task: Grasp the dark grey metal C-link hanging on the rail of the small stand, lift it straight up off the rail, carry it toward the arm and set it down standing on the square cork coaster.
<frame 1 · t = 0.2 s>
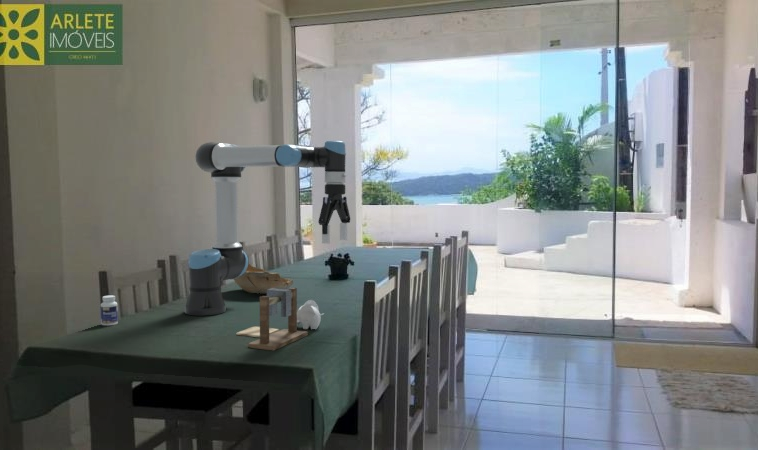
hand: (334, 241, 222), 28 cm above the table, fingers open, 13 cm apart
cork coaster: (258, 332, 200), on the table
stand: (279, 340, 189), on the table
brown wooden chunk: (260, 292, 274), on the table
pill bottle: (109, 324, 211), on the table
c link: (279, 315, 189), point 8 cm above the table, touching stand
elephant figurine: (306, 328, 207), on the table
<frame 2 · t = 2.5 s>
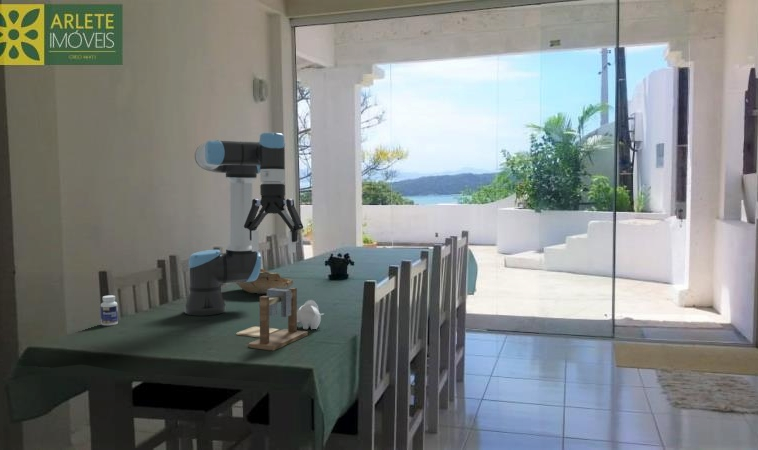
hand: (273, 252, 188), 28 cm above the table, fingers open, 13 cm apart
nothing on the table moved.
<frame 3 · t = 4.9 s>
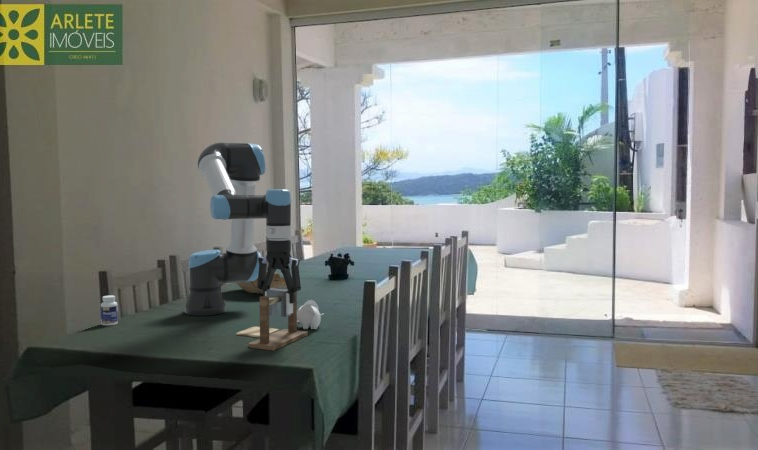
hand: (279, 312, 189), 9 cm above the table, fingers closed on c link, 7 cm apart
c link: (279, 315, 189), point 8 cm above the table, touching gripper, stand
everything else where it was.
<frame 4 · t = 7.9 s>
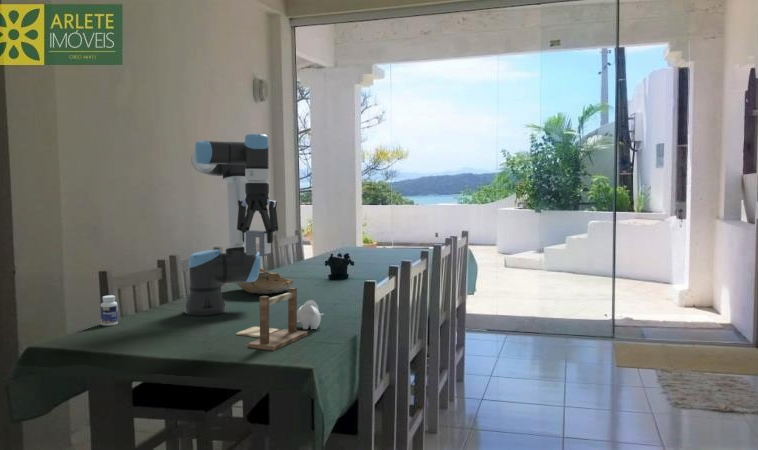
hand: (257, 252, 198), 27 cm above the table, fingers closed on c link, 7 cm apart
c link: (257, 255, 198), point 26 cm above the table, touching gripper
everything else where it was.
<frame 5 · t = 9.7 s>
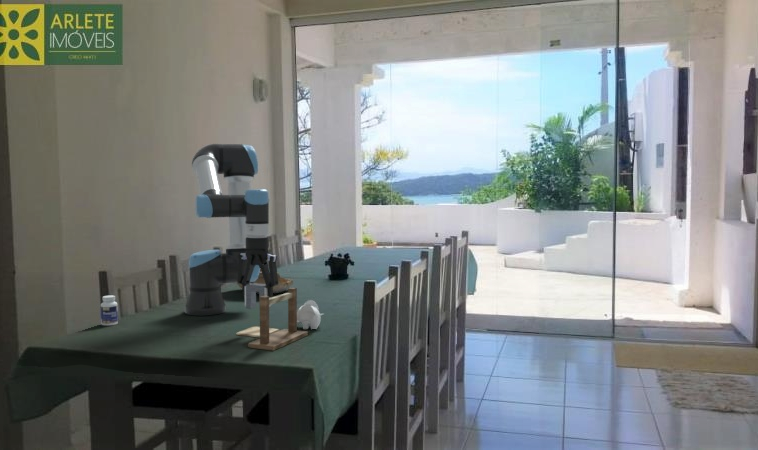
hand: (257, 306, 199), 9 cm above the table, fingers closed on c link, 7 cm apart
c link: (257, 308, 199), point 8 cm above the table, touching gripper
everything else where it was.
when the fingers open (3 cm above the table, at t = 11.3 s): c link drops 2 cm, resting on cork coaster.
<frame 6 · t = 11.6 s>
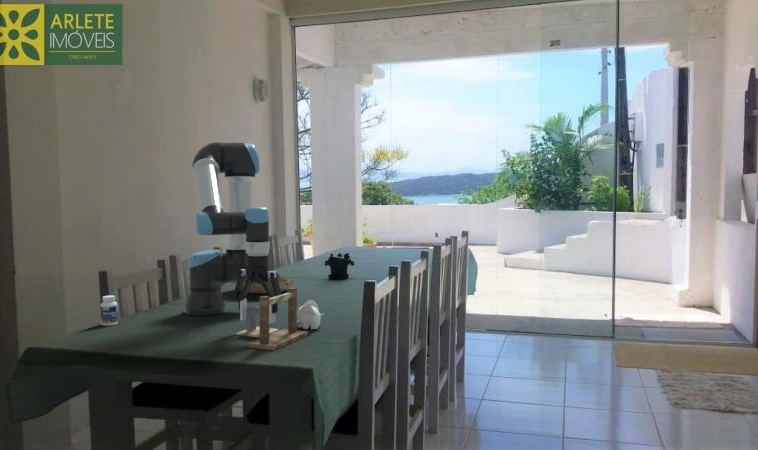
hand: (257, 321, 199), 4 cm above the table, fingers open, 10 cm apart
c link: (257, 331, 200), point 1 cm above the table, touching cork coaster
everything else where it was.
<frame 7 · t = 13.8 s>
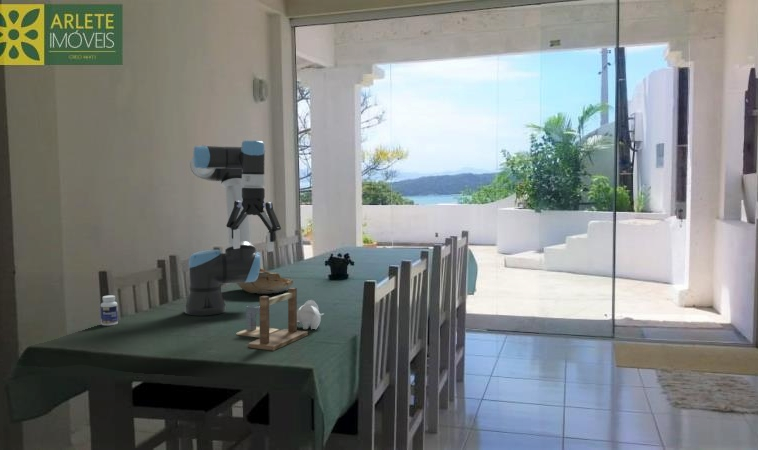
hand: (253, 250, 205), 27 cm above the table, fingers open, 13 cm apart
nothing on the table moved.
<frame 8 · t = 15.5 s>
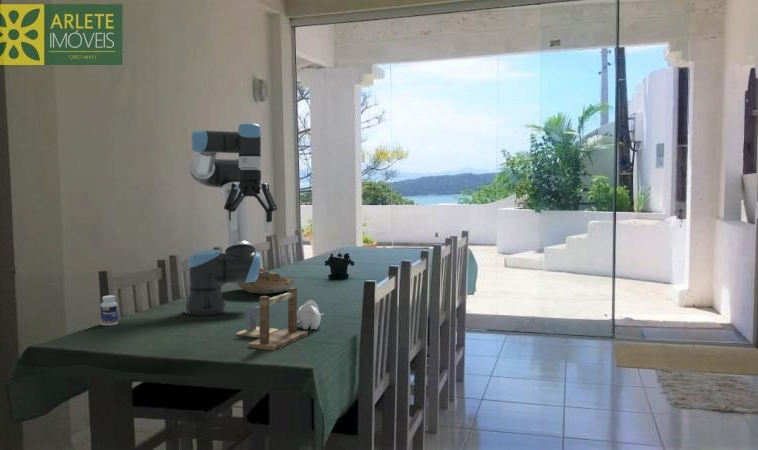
hand: (250, 231, 209), 33 cm above the table, fingers open, 13 cm apart
nothing on the table moved.
at the end: c link inside the target area on the cork coaster (0.0 cm from its centre), point 0.6 cm above the cork coaster's base; c link tilted 0°; c link touching cork coaster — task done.
